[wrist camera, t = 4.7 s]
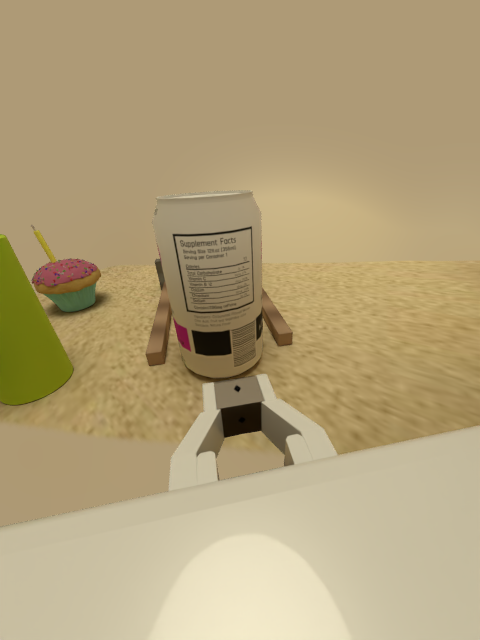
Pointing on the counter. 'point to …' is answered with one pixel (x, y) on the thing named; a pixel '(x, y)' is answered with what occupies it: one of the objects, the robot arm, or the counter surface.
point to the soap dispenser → (26, 338)
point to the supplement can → (213, 278)
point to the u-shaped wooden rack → (163, 318)
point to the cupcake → (66, 280)
